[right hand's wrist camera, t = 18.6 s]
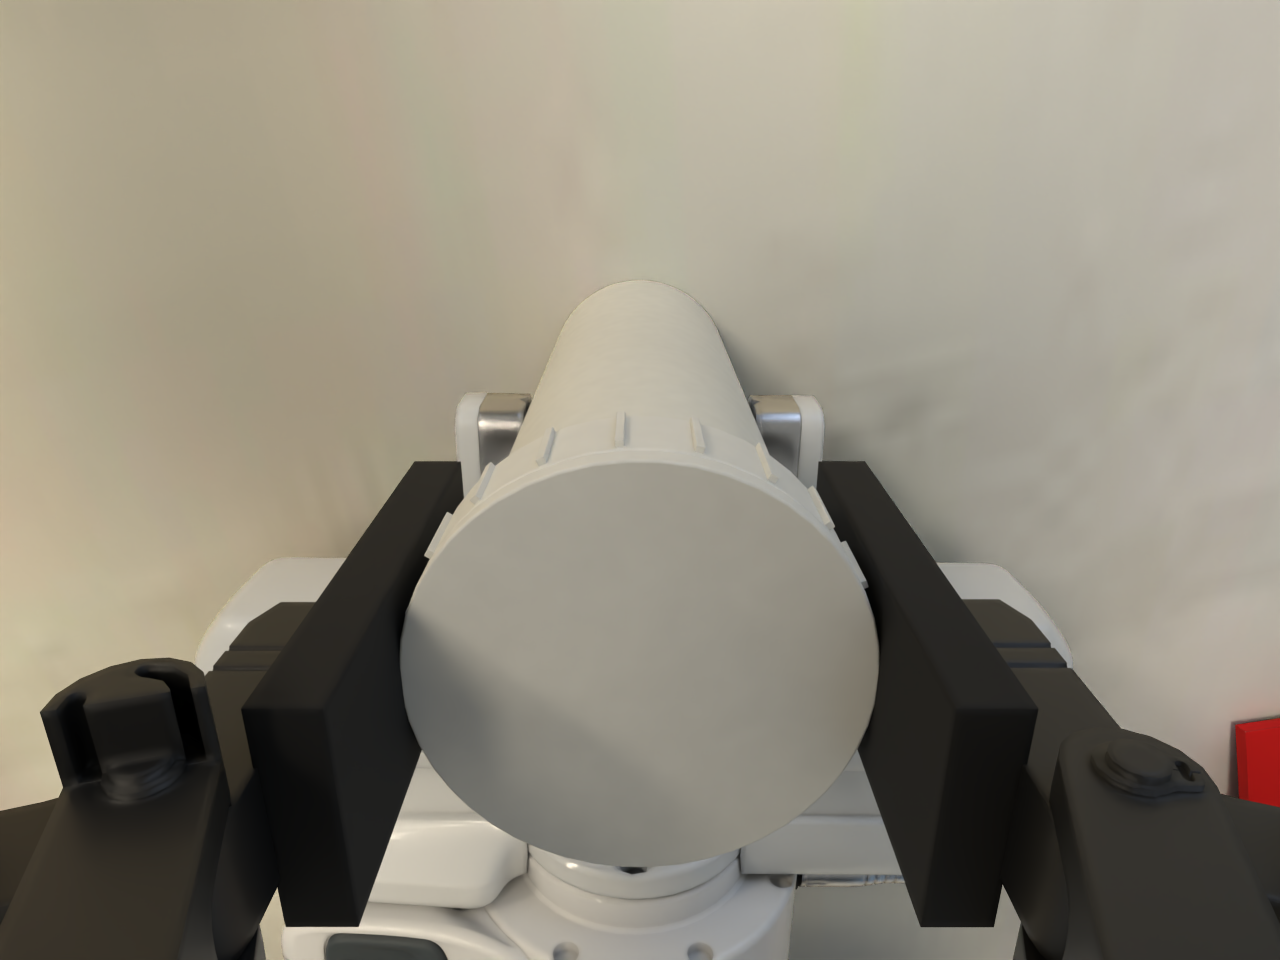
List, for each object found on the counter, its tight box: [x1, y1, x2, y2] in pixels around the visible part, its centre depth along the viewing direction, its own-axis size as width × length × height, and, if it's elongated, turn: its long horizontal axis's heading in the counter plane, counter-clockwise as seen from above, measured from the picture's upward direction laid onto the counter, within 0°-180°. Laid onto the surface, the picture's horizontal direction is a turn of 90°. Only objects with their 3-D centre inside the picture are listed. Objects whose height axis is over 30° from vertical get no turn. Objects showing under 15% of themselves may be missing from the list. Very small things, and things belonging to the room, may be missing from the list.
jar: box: [510, 280, 768, 455], centre depth 18 cm, size 5×5×15 cm
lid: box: [399, 411, 880, 867], centre depth 11 cm, size 6×6×2 cm
